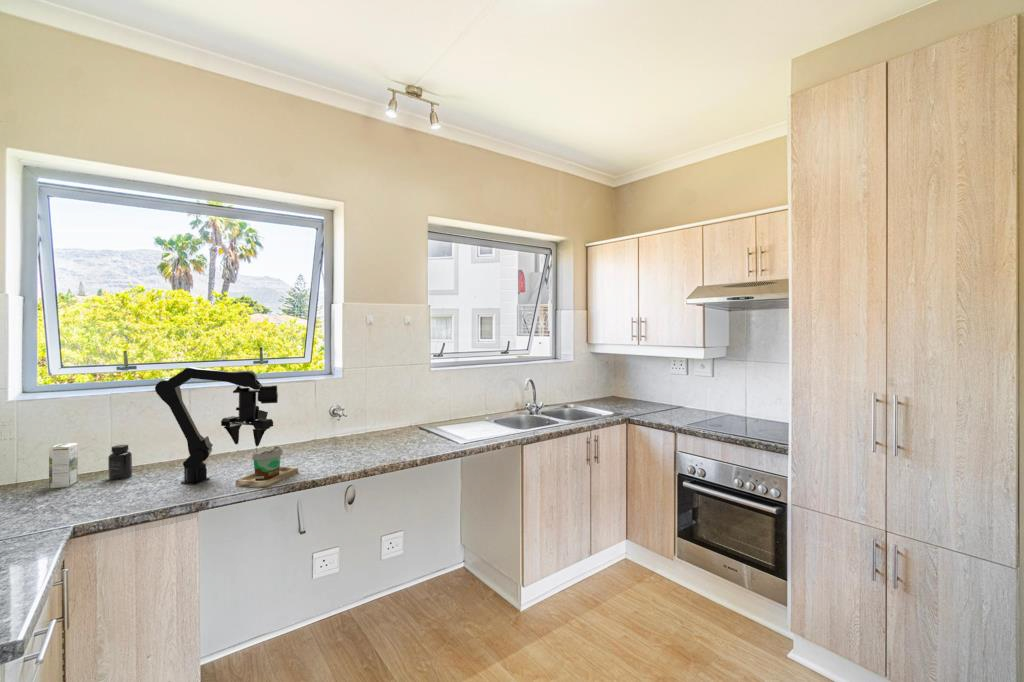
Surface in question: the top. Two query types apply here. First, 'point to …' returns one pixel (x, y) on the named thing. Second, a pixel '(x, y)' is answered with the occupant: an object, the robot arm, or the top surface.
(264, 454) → the food container
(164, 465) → the top surface
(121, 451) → the supplement bottle
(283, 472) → the wooden tray
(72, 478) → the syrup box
